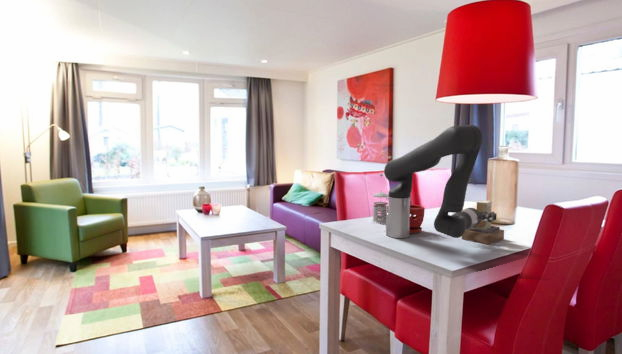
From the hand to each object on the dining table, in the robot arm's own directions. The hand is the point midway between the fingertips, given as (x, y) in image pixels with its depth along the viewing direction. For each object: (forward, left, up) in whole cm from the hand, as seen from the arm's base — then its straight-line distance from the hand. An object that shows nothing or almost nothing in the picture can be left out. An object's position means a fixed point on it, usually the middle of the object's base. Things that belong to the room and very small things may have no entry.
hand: (482, 212), depth 158 cm
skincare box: (0, +1, -8) cm, 8 cm away
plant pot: (-29, -10, -12) cm, 33 cm away
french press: (-51, -2, -12) cm, 52 cm away
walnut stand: (0, +1, -11) cm, 11 cm away
